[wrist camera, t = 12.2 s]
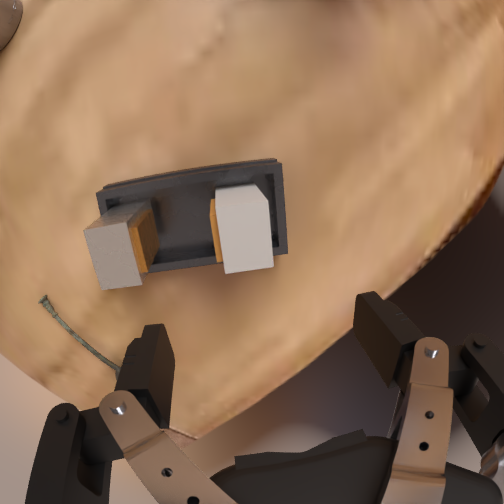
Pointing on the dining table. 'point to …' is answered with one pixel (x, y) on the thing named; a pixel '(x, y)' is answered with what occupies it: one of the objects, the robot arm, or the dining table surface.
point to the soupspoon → (98, 355)
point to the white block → (241, 228)
